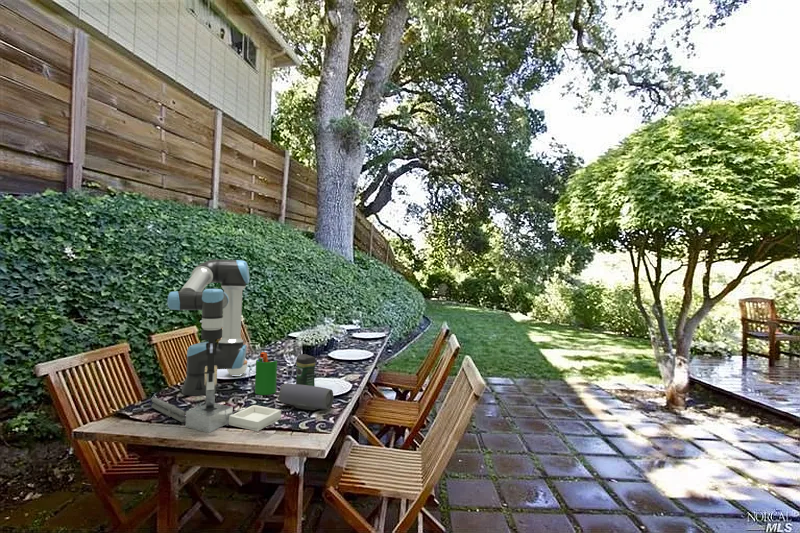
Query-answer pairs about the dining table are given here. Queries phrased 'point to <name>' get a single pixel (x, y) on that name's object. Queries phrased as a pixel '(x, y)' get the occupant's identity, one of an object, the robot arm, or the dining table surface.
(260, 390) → the green cylinder
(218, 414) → the block
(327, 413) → the dining table surface
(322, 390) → the bluetooth speaker
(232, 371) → the lidded jar
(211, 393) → the tan knobbed cylinder
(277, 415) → the tray
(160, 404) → the metal rod assembly
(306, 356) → the coffee jar
